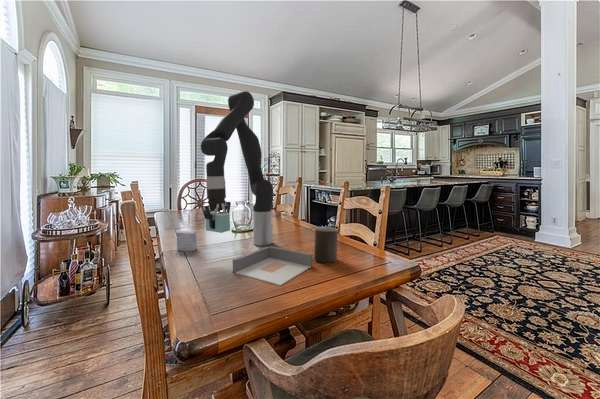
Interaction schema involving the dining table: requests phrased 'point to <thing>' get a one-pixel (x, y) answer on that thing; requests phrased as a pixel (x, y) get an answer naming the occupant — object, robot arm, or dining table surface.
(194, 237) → the medicine box
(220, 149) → the robot arm
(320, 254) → the pillar candle
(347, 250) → the dining table surface
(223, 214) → the teal block
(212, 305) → the dining table surface
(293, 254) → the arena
